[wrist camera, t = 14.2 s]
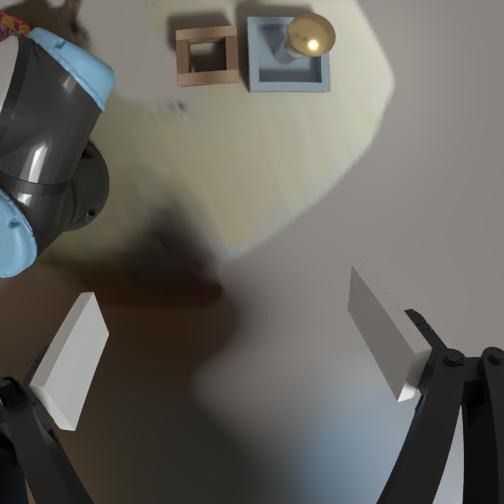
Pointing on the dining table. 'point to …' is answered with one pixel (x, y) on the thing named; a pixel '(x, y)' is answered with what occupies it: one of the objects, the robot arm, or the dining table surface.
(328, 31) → the pin
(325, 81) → the tray
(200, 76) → the block
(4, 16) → the smoothie
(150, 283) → the dining table surface
